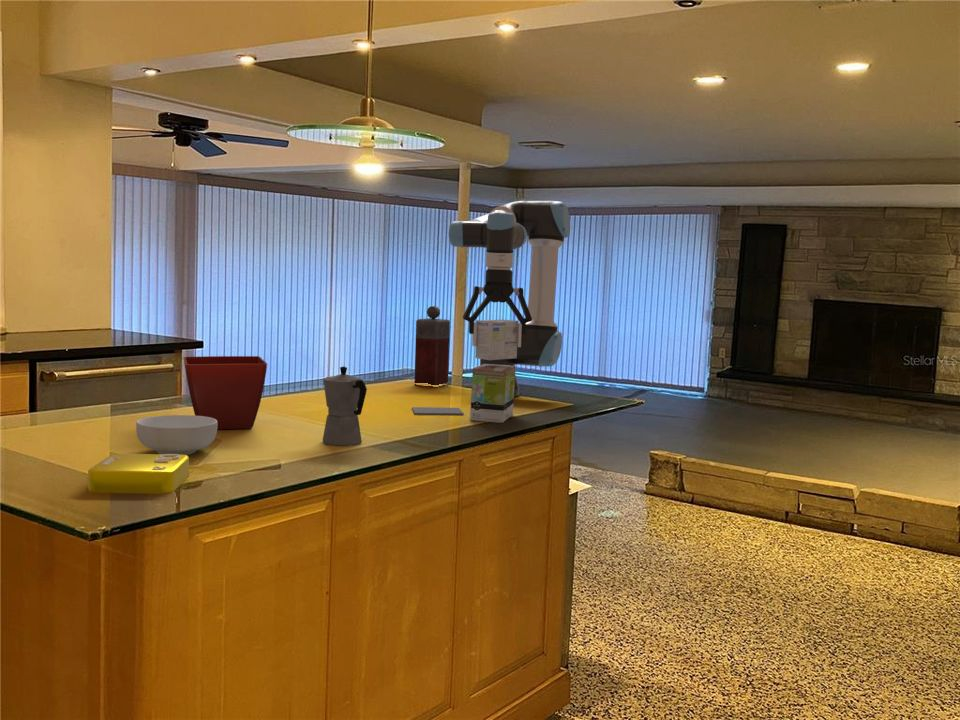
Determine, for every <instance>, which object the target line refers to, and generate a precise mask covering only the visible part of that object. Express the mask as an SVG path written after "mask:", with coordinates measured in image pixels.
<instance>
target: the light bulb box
mask: <svg viewBox="0 0 960 720" xmlns="http://www.w3.org/2000/svg"><path fill="white" fill-rule="evenodd" d="M475 322H476V323H477V337H476V346H475V355H474V356H475V357H474V358H475V359H479V360H480V359H485V360H500V359H513V358H517V335H518V323H519V320H513V319H511V320H508V319H485V320H482V319H481V320H478V319H476V320H475Z"/></svg>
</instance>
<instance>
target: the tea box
mask: <svg viewBox="0 0 960 720" xmlns="http://www.w3.org/2000/svg"><path fill="white" fill-rule="evenodd" d="M515 375H516V365H515V366H510V365H497V364H482V365H480V364H479V365H477V366H475V367H473V368H472V378H471V379H472V381H471V394H470V396H471V398H470V413H469V420H470V421H475V422H487V423H499V424H503V423H505V422H506V421H507V420H508V419H509V418H510V417H512V416H513V414H514V406H515V405H514V404H515V403H514V401H515V397H514V388H515Z"/></svg>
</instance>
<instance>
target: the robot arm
mask: <svg viewBox="0 0 960 720" xmlns="http://www.w3.org/2000/svg"><path fill="white" fill-rule="evenodd" d="M570 232H571V218H570V211H569V209H568V206H567V205H566V203H565V202H563V201H559V200H517V201H512V202H508V203H505V204H502V205H499V206H497V207H495V208H493V209H492V210H491V211H490V212H489V213H487V214H484V215H481V216H478V217H476V218H473V219H470V220H466V221H465V220H460V221H459V220H456V221H452V222H451V223H450V225H449V228H448V240H449V244H450V245H451V246H452V247H454V248H455V247H457V248H486V254H485V256H486V257H485V267H486V268H487V269H486V270H485V278H484V279H485V284H484V286H475V285H474V286H473V290H472V291H473V293H472V295H471V298H470V300H469V301H468V304H467V306H466V308H465V311H464V313H463V315H462V319H463V320H465V321H467V322H468V333H469V335H472V338H471V345H472V347H476V337H477V323H476V321H477V320H478V317H479V316H480V315H481V313H482V312H483V311H484V310H485V308H486V307H487V306H488V305H489V304H490V303H506V304H507V305H508V307H509V309H510V310H511V311H512V313H513V314H514V315H515V317H516V318H517V321H518V335H517V358H513V359H500V360H485V359H479V360H480V362H479V366H480V365H482V364H497V365H510V366H515V367H516V365H519V366H531V367H540V368H542V367H548V368H549V367H553V366H555V365H556V363H557V362H558V360H559V358H560V354H561V351H562V346H563V334H562V332H560V331H559V330H558V325H557V324H556V323H555V321H554V315H555V301H556V291H557V290H556V287H557V274H558V273H557V272H558V262H559V261H558V260H559V259H558V258H559V249H560V247H561V246H562V245H564V244H565V243H564V241H565V240H564V239H567V238H568V237H569V236H570V234H571V233H570ZM527 241H528V243H529V244H530V245H531V247H532V248H531V261H530V264H531V265H530V275H529V276H530V278H529V289H528V290H529V291H528V304H527V301H526V298H525V297H524V288H523V287H513V272H514V271H513V270H512V269H513V268H514V250H516V249H519V248H520V249H521V248H522V247H523V246H524V245H525V244H526V242H527ZM482 292H483V293H484V295H485V297H484V299H483V300H482V302H481V303H480V304H479V306H478V307H477V308H476V310H475V311H474V312H473V314H471V313H472V311H473V309H474V307H475V304H476V302H477V300H478V297H479V296H480V295H481V294H482ZM513 293H514V294H515V296H517V300H518V301H519V304H520V307H521V310H522V312H523V314H522V313H521V312H520V310H519V309H518V307H517V306H516V305H515V303H514V302H513V299H512V298H511V296H512V295H513ZM470 315H471V316H470ZM523 315H524V316H523ZM519 396H520V386H519V383H518V380H517V375H516V374H515V388H514V398H515V397H519Z"/></svg>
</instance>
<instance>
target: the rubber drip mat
mask: <svg viewBox="0 0 960 720" xmlns="http://www.w3.org/2000/svg"><path fill="white" fill-rule="evenodd" d="M411 411H412V413H413V415H415V416H416V415H418V416H419V415H421V416H425V415H427V416H464V412H463V410H462V409H460V407H442V406H441V407H438V406H436V407H434V406H433V407H431V406H430V407H429V406H428V407H424V406H423V407H422V406H421V407H418V406H417V407H416V406H414V407H413V406H412V407H411Z"/></svg>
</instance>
